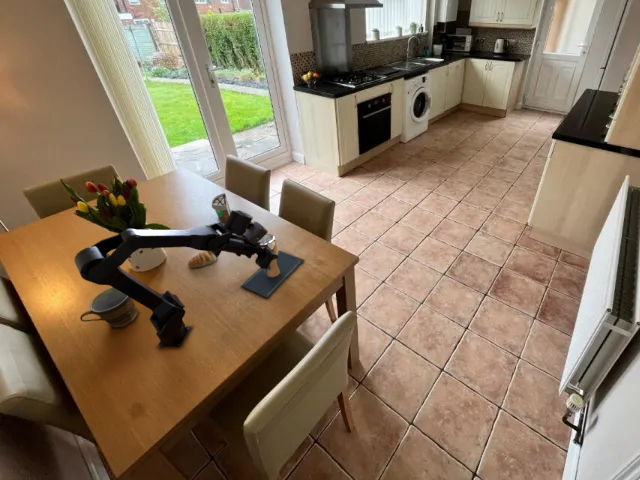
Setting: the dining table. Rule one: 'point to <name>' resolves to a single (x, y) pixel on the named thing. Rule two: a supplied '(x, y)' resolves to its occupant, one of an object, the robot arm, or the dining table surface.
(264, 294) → the mat
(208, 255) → the pastry
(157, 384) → the dining table surface
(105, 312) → the ceramic cup
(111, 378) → the dining table surface
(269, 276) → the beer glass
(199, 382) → the dining table surface
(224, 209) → the food container
